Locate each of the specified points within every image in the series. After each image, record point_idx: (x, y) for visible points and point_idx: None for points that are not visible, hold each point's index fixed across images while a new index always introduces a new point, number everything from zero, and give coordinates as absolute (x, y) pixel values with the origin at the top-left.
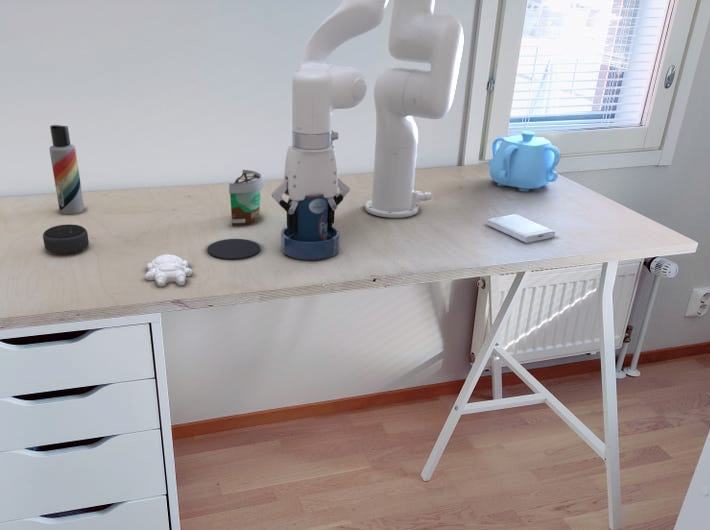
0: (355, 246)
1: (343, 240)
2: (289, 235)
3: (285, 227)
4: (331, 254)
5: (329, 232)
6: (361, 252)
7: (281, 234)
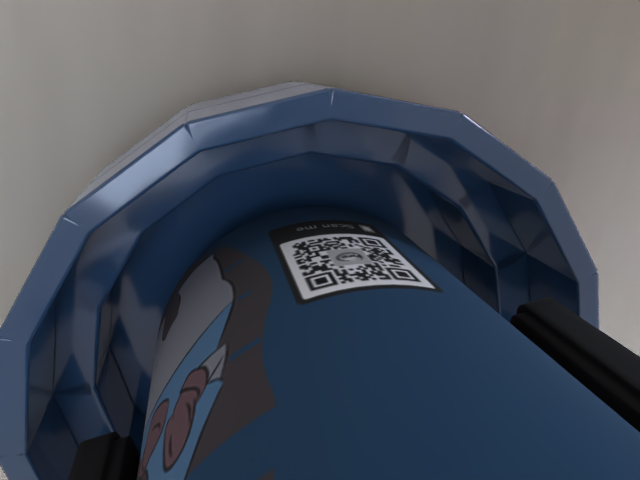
0: (623, 234)
1: (586, 106)
2: (110, 232)
3: (36, 272)
4: None
5: (517, 224)
6: (620, 336)
7: (5, 468)
